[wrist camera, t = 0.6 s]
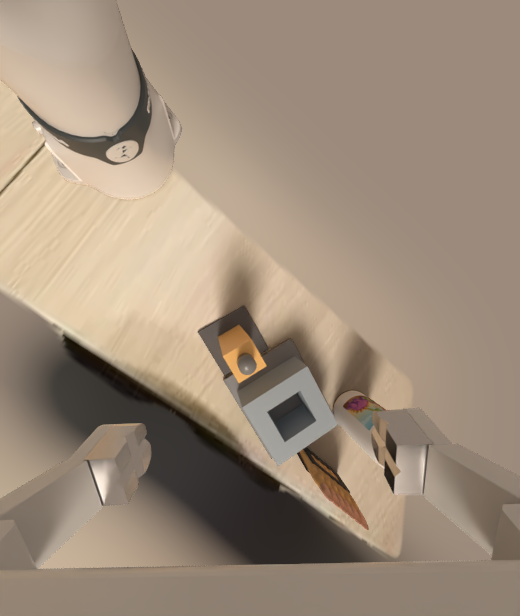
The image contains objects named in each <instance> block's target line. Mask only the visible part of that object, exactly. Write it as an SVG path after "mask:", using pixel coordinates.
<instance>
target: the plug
mask: <svg viewBox="0 0 520 616" xmlns="http://www.w3.org/2000/svg"><path fill="white" fill-rule="evenodd" d="M218 340H219V344H220V348H221V352H222V355H223V358H224V359H225V361H226V363H227V364H228V366H229V368H230V369H231V371H232V373H233V374H234V376H235V378H236V379H237V381H238V383H240V382H242V381H244V380H245V379H247V378H248V377H250V376H252V375H253V374H255V373H257V372H258V371H260V370H261V369H263V368H265V367H266V364H265V362H264V360H263V359H262V357H261V355H260V353H259V352H258V350H257V348H256V346H255V344H254V343H253V341H252V339H251V338H250V337H249V336H248V334H247V333H246V332H245V331H244V330H243V329H242V327H241V326H240V325H237V326H236V327H234V328H232V329H230V330H229V331H227V332H225V333H224V334H222V335H220V336H218Z"/></svg>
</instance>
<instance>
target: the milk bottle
mask: <svg viewBox="0 0 520 616" xmlns="http://www.w3.org/2000/svg"><path fill="white" fill-rule="evenodd" d="M384 410H385V409H384V408H383V407H381V406H380V405H378V404H377V403H376V402H374V401H373V400H371V399H370V398H368V397H367V396H365V395H364V394H362V393H361V392H358V391H347V392H345V393H343V394H342V395H340V396H339V397H338V399H337V400H336V402H335V404H334V408H333V414H334V418H335V419H336V421H337V423H338V424H339V425H340V427H341V428H342V429H343V430H344V431H345V432H346V433H347V434H348V435H349V436H350V437H351V438H352V439H353V440H354V441H355V442H356V443H357V444H358V445H359V446H360V447H361V449H362V450H363V451H364V452H365V453H366V454H367V455H368V456H370V457H371V458H372V459H373V460H374V461H375V462H376V463H377V464H379V463H378V461H377V459H376V457H375V454H374V451H373V447H372V441H371V432H372V431H373V429H374V428H375V426H374V425H373V423H372V413H373V411H384ZM379 465H380V466H381V467H383V466H382V465H381V464H379ZM383 468H384V467H383ZM423 496H424V495H423Z"/></svg>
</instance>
